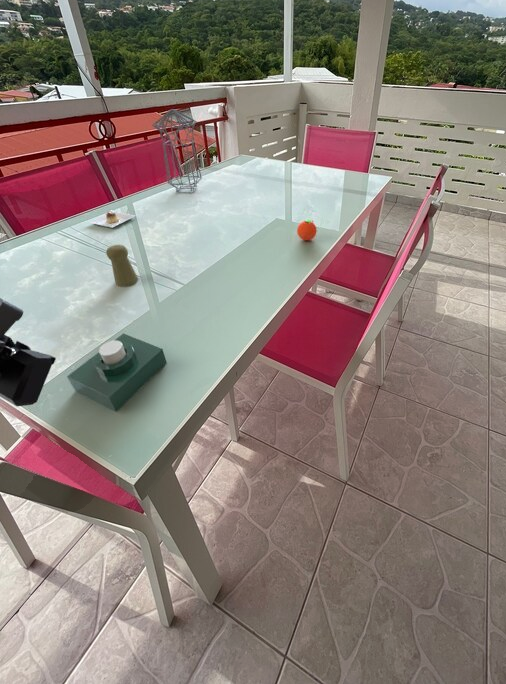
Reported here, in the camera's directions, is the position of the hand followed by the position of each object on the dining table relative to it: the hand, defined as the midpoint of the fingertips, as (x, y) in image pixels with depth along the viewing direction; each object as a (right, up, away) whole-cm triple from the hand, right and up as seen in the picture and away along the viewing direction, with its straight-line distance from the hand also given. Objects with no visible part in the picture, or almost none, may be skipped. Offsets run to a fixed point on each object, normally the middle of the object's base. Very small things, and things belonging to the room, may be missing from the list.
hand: (52, 359), depth 52 cm
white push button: (+3, -2, +11) cm, 12 cm away
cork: (-11, +13, +43) cm, 46 cm away
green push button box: (+3, -7, +14) cm, 16 cm away
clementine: (+42, +29, +66) cm, 84 cm away
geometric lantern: (-15, +59, +108) cm, 124 cm away
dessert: (-34, +37, +77) cm, 92 cm away
